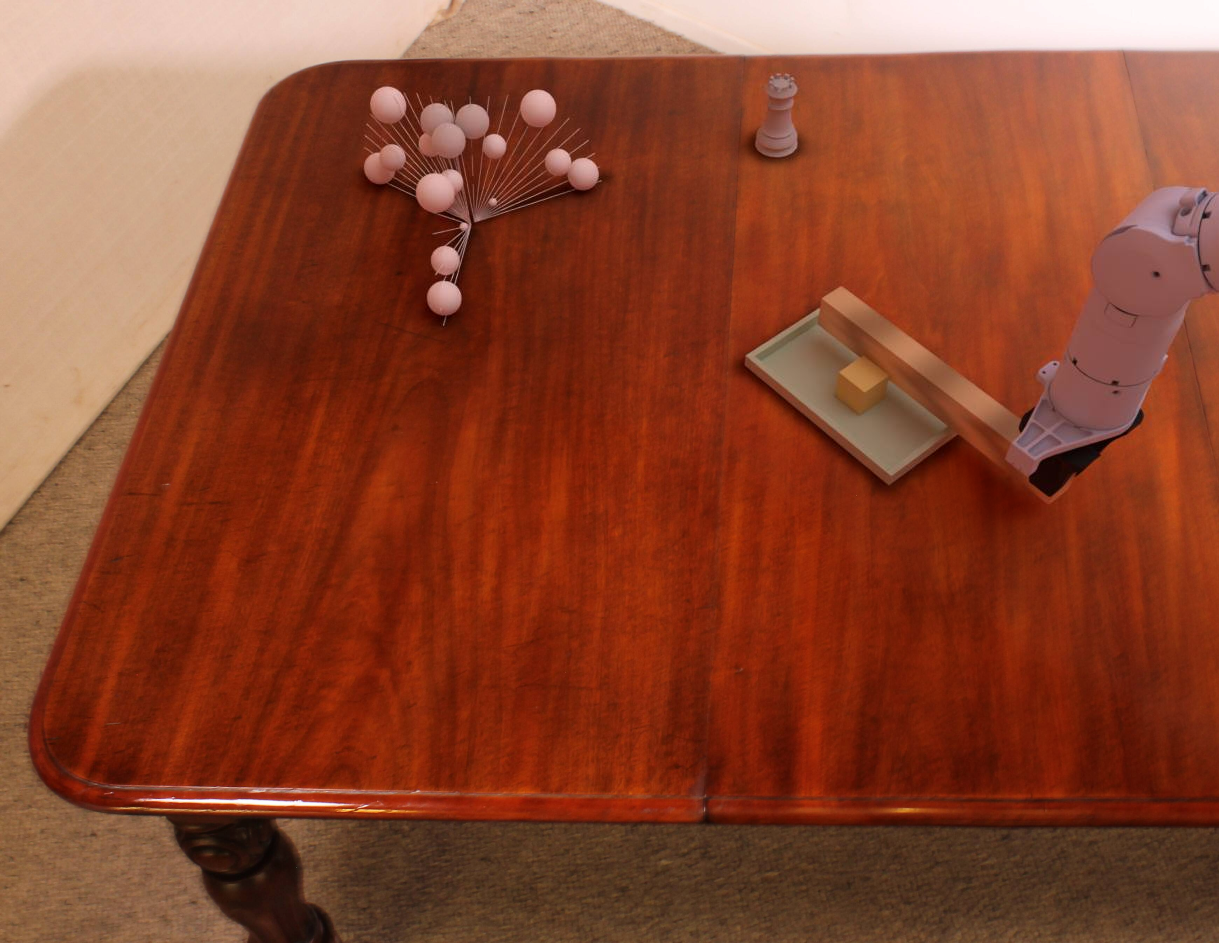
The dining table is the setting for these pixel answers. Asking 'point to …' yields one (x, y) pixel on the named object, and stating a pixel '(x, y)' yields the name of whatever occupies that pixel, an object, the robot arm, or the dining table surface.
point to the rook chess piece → (778, 119)
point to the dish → (808, 381)
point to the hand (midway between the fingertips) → (1054, 476)
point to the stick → (927, 380)
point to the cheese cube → (861, 385)
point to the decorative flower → (450, 143)
